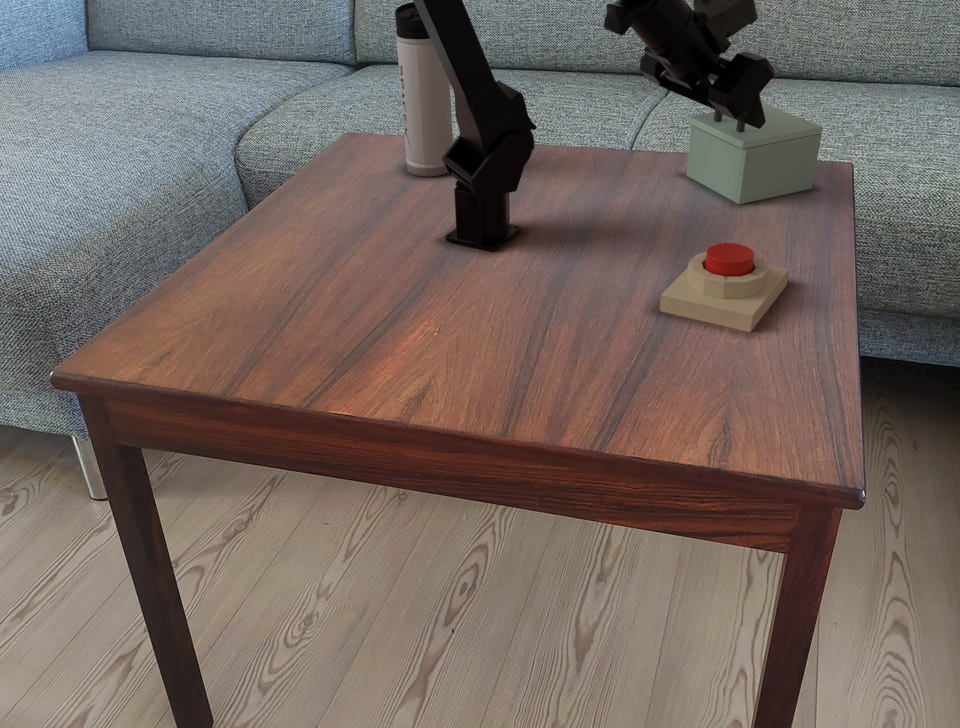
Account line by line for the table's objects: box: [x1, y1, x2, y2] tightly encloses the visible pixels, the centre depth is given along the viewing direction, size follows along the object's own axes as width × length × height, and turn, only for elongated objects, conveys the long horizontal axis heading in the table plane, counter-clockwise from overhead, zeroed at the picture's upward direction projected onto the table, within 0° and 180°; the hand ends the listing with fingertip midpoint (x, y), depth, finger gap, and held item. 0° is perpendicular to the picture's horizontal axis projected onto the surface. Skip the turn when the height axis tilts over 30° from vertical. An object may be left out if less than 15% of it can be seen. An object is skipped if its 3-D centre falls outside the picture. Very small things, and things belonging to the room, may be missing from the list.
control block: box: [659, 251, 790, 333], centre depth 90 cm, size 11×9×4 cm
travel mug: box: [394, 1, 454, 178], centre depth 118 cm, size 6×7×20 cm
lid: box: [687, 102, 824, 149], centre depth 111 cm, size 11×11×5 cm
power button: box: [705, 242, 755, 277], centre depth 89 cm, size 4×4×2 cm
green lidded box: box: [685, 124, 823, 205], centre depth 114 cm, size 11×11×7 cm
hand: (739, 115), depth 110 cm, fingers open, 8 cm apart
